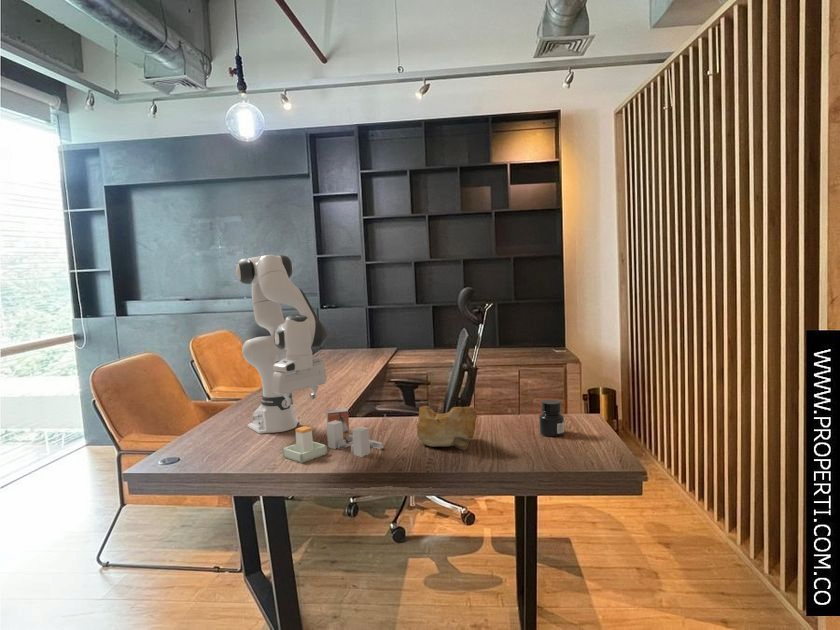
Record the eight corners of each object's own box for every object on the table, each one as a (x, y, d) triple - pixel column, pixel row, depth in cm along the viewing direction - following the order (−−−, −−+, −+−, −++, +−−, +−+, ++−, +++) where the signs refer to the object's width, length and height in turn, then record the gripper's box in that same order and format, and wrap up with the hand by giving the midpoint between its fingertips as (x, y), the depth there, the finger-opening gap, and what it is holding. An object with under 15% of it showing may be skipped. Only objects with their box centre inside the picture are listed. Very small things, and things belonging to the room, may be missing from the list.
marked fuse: (296, 454, 171) (295, 428, 170) (306, 450, 174) (304, 425, 173) (303, 456, 168) (302, 430, 167) (313, 453, 171) (311, 427, 170)
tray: (282, 456, 170) (282, 448, 170) (308, 447, 178) (307, 439, 178) (301, 463, 163) (301, 454, 163) (327, 453, 171) (326, 445, 171)
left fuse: (327, 447, 178) (326, 422, 178) (336, 444, 181) (335, 420, 181) (335, 449, 176) (333, 424, 175) (343, 446, 179) (342, 421, 178)
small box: (328, 440, 186) (327, 413, 185) (327, 436, 192) (325, 409, 191) (349, 437, 188) (348, 410, 187) (348, 433, 194) (346, 407, 193)
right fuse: (353, 454, 169) (352, 429, 169) (362, 451, 172) (360, 426, 172) (361, 457, 167) (360, 431, 166) (370, 453, 170) (368, 428, 169)
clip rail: (329, 446, 179) (328, 438, 179) (349, 439, 186) (349, 431, 186) (362, 456, 167) (362, 447, 167) (383, 448, 175) (383, 439, 174)
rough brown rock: (493, 444, 176) (492, 402, 176) (471, 454, 162) (470, 409, 163) (438, 437, 189) (437, 398, 189) (413, 446, 175) (412, 404, 176)
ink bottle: (565, 438, 177) (564, 405, 176) (540, 437, 179) (539, 405, 178) (563, 429, 186) (562, 398, 185) (539, 429, 188) (538, 398, 187)
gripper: (318, 356, 178) (319, 394, 180) (268, 366, 163) (270, 406, 164) (329, 358, 174) (331, 396, 176) (279, 368, 159) (281, 410, 160)
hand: (301, 401), depth 170 cm, fingers open, 8 cm apart
